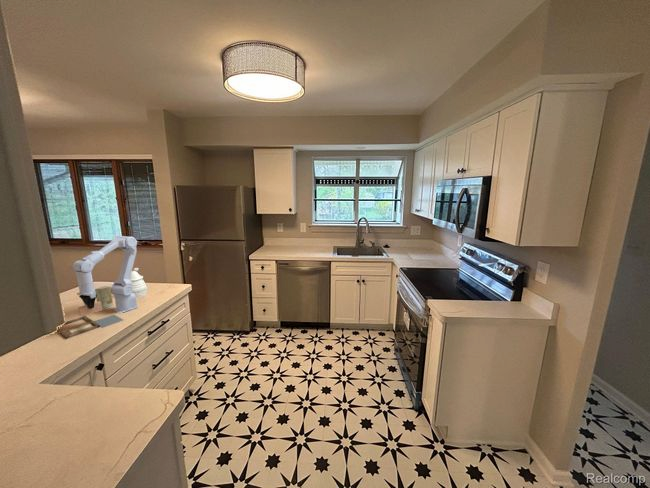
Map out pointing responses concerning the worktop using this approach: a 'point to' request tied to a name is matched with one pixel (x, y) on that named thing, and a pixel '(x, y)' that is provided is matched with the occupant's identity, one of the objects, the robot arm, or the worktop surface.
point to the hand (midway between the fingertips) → (90, 307)
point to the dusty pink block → (84, 309)
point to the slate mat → (108, 321)
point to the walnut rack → (78, 327)
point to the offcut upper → (81, 328)
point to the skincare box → (104, 296)
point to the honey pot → (138, 284)
